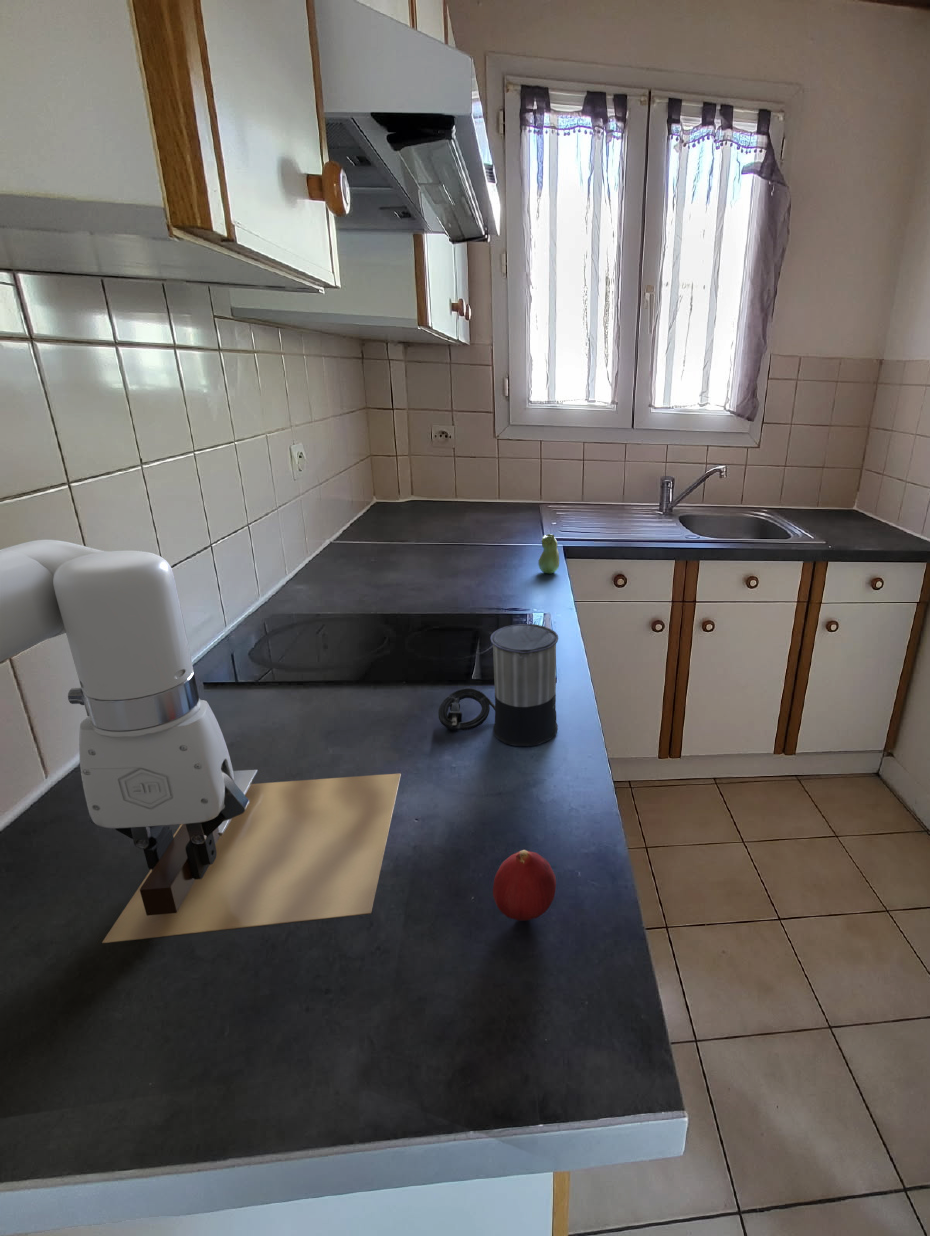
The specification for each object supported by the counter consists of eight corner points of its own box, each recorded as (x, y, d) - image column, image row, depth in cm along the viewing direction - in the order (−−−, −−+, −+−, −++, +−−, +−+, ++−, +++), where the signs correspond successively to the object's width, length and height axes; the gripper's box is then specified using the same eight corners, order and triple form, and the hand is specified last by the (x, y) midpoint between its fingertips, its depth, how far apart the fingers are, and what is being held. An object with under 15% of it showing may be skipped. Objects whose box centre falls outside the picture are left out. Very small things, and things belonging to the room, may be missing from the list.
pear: (558, 576, 159) (558, 537, 156) (537, 575, 159) (537, 536, 156) (559, 570, 165) (560, 532, 161) (539, 569, 164) (539, 531, 161)
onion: (511, 887, 64) (509, 822, 61) (564, 901, 63) (565, 836, 60) (483, 931, 59) (480, 863, 56) (541, 948, 58) (540, 879, 55)
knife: (179, 913, 56) (172, 886, 55) (143, 916, 56) (136, 889, 55) (258, 772, 75) (254, 751, 74) (232, 774, 75) (228, 752, 74)
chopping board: (105, 955, 55) (100, 943, 55) (207, 797, 75) (205, 787, 75) (372, 925, 59) (371, 913, 59) (402, 783, 79) (401, 772, 79)
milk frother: (567, 740, 90) (568, 644, 84) (454, 764, 83) (448, 662, 78) (535, 695, 102) (534, 608, 96) (434, 713, 95) (427, 621, 90)
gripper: (2, 726, 49) (64, 910, 55) (233, 717, 52) (265, 892, 59) (62, 681, 56) (110, 849, 62) (263, 675, 59) (288, 836, 65)
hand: (185, 868), depth 60 cm, fingers closed on knife, 2 cm apart
